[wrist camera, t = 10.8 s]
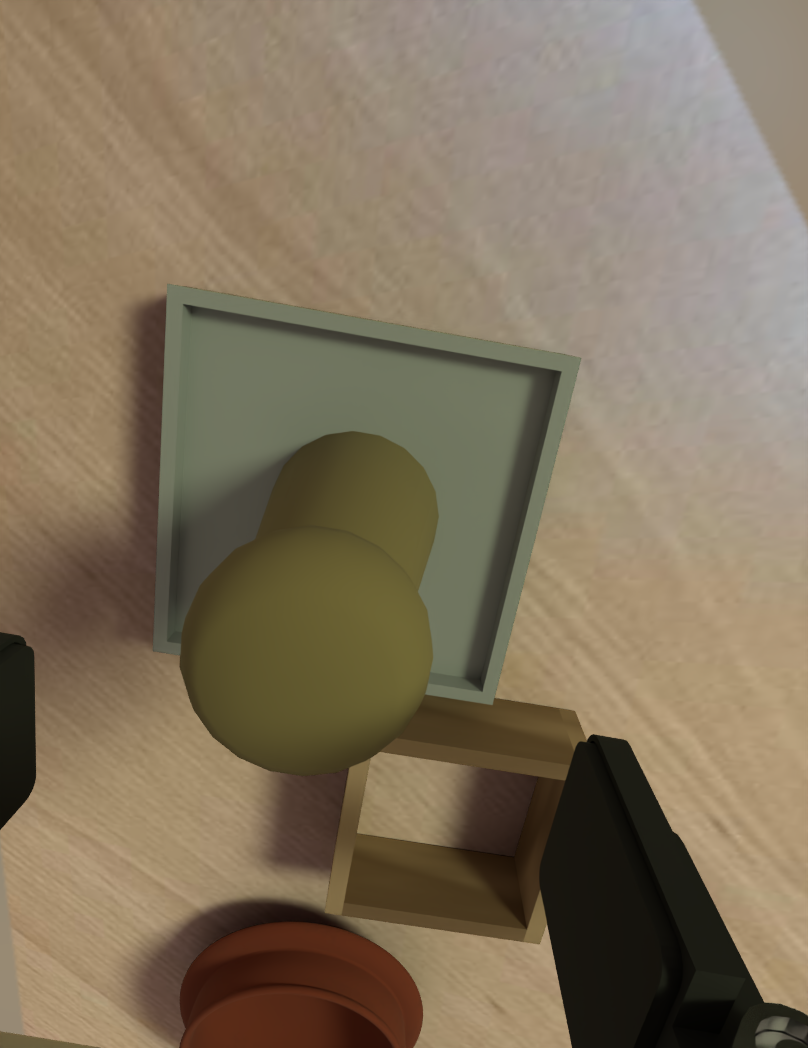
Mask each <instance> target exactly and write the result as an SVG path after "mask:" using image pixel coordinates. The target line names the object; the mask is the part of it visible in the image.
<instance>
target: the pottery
mask: <svg viewBox="0 0 808 1048" xmlns="http://www.w3.org/2000/svg"><path fill="white" fill-rule="evenodd" d="M180 1010H181V1016H182V1019H183V1023H184V1025H185V1028H186V1030H185V1032H184V1034H183V1037H182V1039H181V1043H180V1047H179V1048H413V1047H414V1045H415V1043H416V1042H417V1039H418V1037H419V1034H420V1031H421V1027H422V1021H423V1007H422V1001H421V997H420V994H419V991H418V989H417V986H416V984H415V982H414V981H413V979H412V977H411V976H410V974H409V973H408V972H407V970H406V969H405V968H404V967H403V966H402V964H401V963H400V962H399V961H398V960H397V959H395V958H394V957H393V956H392V955H391V954H390V953H388V952H387V951H386V950H384V949H383V948H381V947H380V946H378V945H377V944H375V943H373V942H371V941H370V940H368V939H366V938H364V937H361V936H359V935H357V934H354V933H352V932H349V931H346V930H343V929H340V928H336V927H332V926H328V925H323V924H316V923H308V922H275V923H267V924H261V925H256V926H252V927H248V928H245V929H241V930H239V931H236V932H233V933H231V934H229V935H227V936H225V937H223V938H221V939H219V940H218V941H216V942H214V943H213V944H211V945H210V946H209V947H208V948H206V949H205V950H204V951H203V952H202V953H201V954H200V955H199V956H198V957H197V958H196V959H195V960H194V962H193V963H192V964H191V966H190V967H189V969H188V971H187V973H186V975H185V977H184V980H183V983H182V986H181V991H180Z"/></svg>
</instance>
